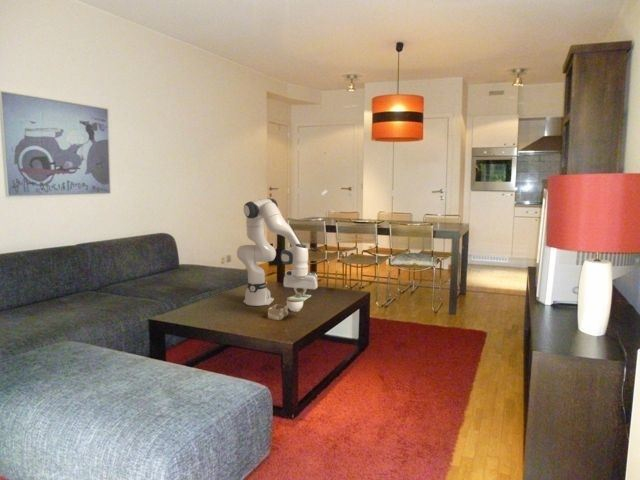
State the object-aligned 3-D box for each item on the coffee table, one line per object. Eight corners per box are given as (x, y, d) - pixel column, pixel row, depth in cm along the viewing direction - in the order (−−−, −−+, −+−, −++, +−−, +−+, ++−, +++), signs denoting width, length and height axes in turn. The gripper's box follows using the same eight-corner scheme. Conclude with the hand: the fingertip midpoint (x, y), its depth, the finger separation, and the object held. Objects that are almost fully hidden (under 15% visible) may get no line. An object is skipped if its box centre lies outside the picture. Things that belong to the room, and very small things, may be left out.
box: (275, 313, 303) (275, 304, 303) (287, 315, 301) (288, 305, 300) (267, 318, 292) (267, 309, 291) (280, 320, 289) (280, 310, 289)
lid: (296, 296, 296) (297, 289, 295) (311, 297, 293) (311, 290, 292) (288, 300, 283) (288, 293, 283) (303, 302, 280) (303, 295, 280)
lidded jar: (306, 309, 314) (306, 295, 313) (297, 313, 305) (297, 298, 304) (292, 307, 319) (292, 293, 318) (283, 310, 310) (283, 296, 309)
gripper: (319, 272, 286) (318, 296, 288) (286, 270, 292) (286, 293, 294) (315, 274, 280) (315, 298, 282) (282, 271, 286) (282, 295, 288)
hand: (300, 295), depth 288 cm, fingers closed on lid, 2 cm apart
